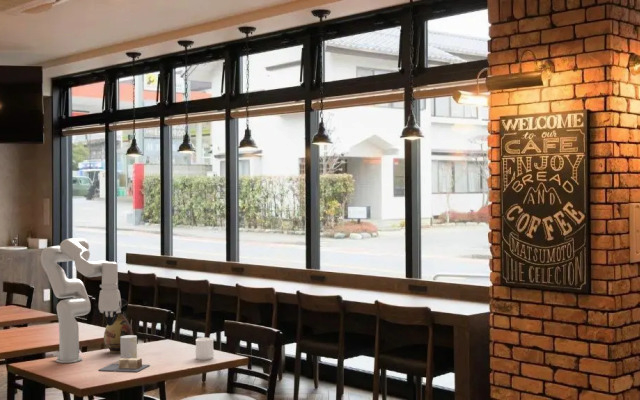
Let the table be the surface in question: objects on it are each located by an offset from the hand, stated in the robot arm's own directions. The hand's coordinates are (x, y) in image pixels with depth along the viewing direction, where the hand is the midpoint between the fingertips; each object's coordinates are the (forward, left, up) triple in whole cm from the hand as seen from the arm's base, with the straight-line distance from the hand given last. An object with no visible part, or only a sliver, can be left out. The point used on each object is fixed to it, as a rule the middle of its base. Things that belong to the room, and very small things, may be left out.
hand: (110, 324), depth 383 cm
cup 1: (0, +19, -21) cm, 29 cm away
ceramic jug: (-16, +38, -21) cm, 46 cm away
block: (+5, 0, -18) cm, 19 cm away
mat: (+7, 0, -21) cm, 22 cm away
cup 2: (+37, +29, -21) cm, 52 cm away
